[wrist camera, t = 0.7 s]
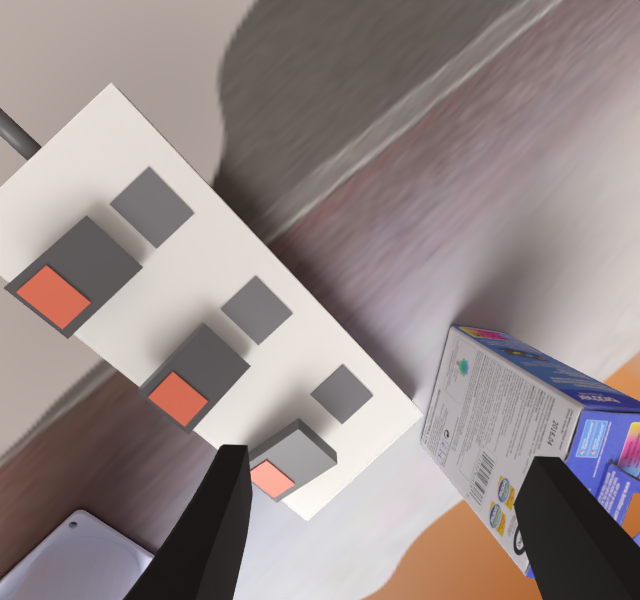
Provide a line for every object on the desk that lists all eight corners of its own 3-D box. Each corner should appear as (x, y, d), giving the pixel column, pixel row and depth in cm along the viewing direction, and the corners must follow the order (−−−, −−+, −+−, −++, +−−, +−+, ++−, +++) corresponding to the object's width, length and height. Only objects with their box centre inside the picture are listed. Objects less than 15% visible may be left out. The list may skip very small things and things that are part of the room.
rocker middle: (186, 428, 25) (188, 435, 24) (137, 389, 24) (137, 394, 23) (246, 362, 27) (251, 366, 26) (202, 322, 25) (205, 324, 24)
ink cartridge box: (480, 449, 35) (646, 620, 21) (417, 446, 34) (551, 627, 20) (514, 331, 33) (723, 438, 19) (448, 323, 32) (622, 432, 18)
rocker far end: (278, 489, 29) (276, 503, 28) (239, 458, 28) (236, 472, 27) (336, 452, 28) (337, 465, 27) (298, 417, 27) (298, 430, 26)
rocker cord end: (70, 336, 23) (67, 339, 22) (8, 287, 22) (3, 288, 21) (142, 267, 24) (143, 267, 23) (88, 217, 23) (86, 214, 22)
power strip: (302, 501, 33) (307, 522, 31) (-120, 156, 22) (-153, 154, 20) (412, 401, 33) (424, 415, 31) (39, 4, 22) (21, -14, 20)
